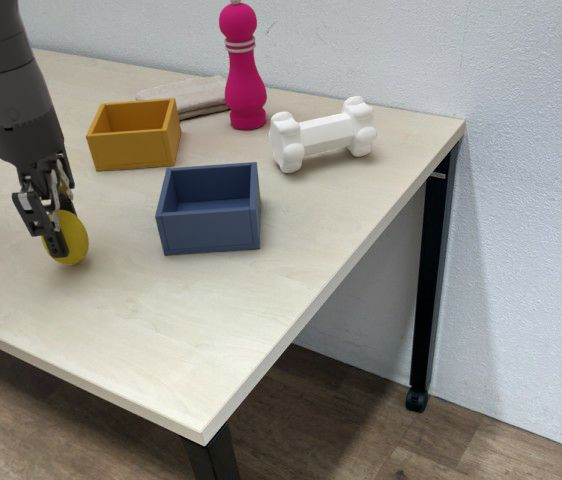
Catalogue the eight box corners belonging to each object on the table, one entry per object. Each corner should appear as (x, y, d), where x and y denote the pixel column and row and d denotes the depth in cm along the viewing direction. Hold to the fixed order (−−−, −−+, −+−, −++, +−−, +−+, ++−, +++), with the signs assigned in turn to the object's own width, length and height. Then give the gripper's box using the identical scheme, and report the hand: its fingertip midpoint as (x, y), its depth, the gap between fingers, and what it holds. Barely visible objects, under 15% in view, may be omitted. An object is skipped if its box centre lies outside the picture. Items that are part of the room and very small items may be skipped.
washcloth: (246, 106, 112) (245, 89, 109) (152, 129, 107) (148, 111, 105) (225, 85, 119) (223, 69, 117) (136, 106, 115) (132, 89, 113)
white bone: (355, 139, 99) (356, 87, 94) (378, 161, 94) (381, 108, 88) (268, 158, 97) (264, 107, 91) (287, 183, 91) (283, 129, 85)
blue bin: (164, 255, 80) (154, 216, 75) (174, 205, 88) (166, 168, 84) (260, 249, 79) (255, 209, 75) (260, 199, 88) (256, 161, 84)
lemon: (66, 282, 77) (44, 227, 71) (46, 265, 80) (23, 211, 74) (104, 263, 79) (86, 208, 74) (83, 247, 82) (64, 193, 77)
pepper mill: (253, 110, 110) (241, -18, 96) (277, 122, 106) (267, -10, 92) (220, 122, 108) (202, -7, 93) (242, 135, 103) (227, 1, 89)
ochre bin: (96, 171, 98) (85, 136, 93) (110, 137, 106) (100, 103, 102) (173, 165, 97) (166, 130, 93) (181, 131, 106) (175, 97, 102)
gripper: (2, 84, 70) (51, 214, 82) (-42, 139, 60) (21, 278, 72) (66, 79, 70) (106, 210, 82) (32, 134, 60) (84, 274, 72)
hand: (66, 241), depth 77 cm, fingers closed on lemon, 5 cm apart
